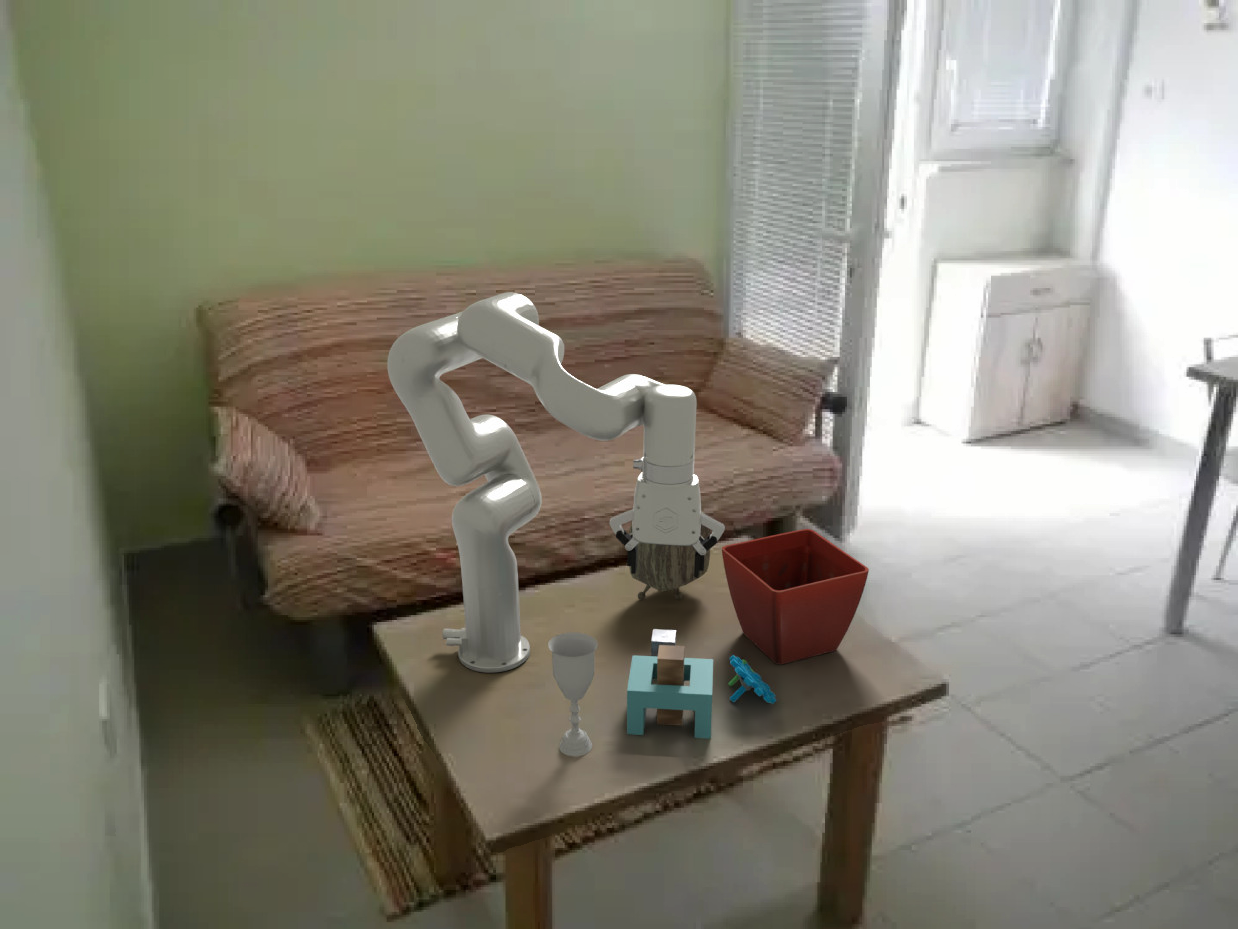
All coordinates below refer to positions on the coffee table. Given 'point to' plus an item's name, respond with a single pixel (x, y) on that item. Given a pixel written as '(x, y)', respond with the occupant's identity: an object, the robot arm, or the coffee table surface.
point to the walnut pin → (670, 679)
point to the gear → (749, 681)
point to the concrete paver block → (662, 639)
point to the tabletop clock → (667, 565)
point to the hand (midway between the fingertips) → (665, 572)
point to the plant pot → (793, 593)
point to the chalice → (573, 682)
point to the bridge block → (670, 693)
